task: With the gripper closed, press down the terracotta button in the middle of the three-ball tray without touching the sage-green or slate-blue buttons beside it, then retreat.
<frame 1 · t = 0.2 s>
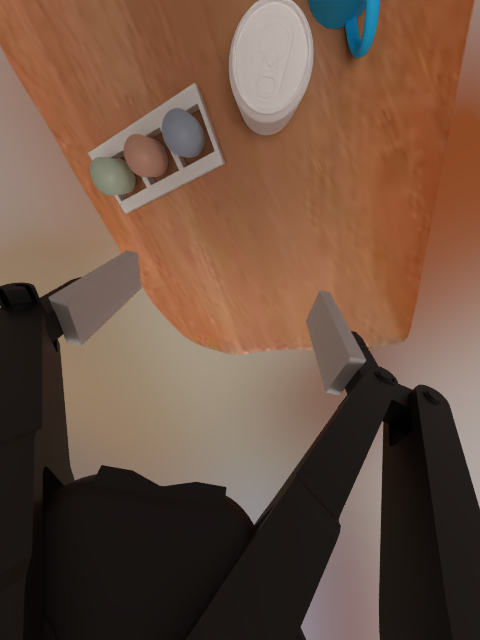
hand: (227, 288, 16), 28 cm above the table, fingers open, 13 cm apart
three-ball tray: (161, 158, 34), on the table
button terracotta: (147, 157, 30), point 5 cm above the table, slide at 0.0 cm
button slate: (184, 135, 28), point 5 cm above the table, slide at 0.0 cm
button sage: (114, 176, 32), point 5 cm above the table, slide at 0.0 cm
beverage can: (268, 97, 29), on the table
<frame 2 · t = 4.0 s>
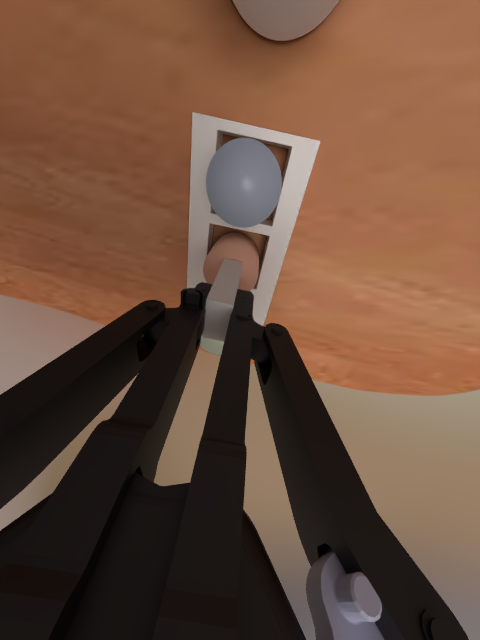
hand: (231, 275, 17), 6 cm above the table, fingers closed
three-ball tray: (237, 250, 22), on the table
button terracotta: (233, 264, 19), point 4 cm above the table, slide at -1.2 cm, touching gripper
button slate: (245, 185, 14), point 5 cm above the table, slide at 0.0 cm
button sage: (222, 326, 22), point 5 cm above the table, slide at 0.0 cm
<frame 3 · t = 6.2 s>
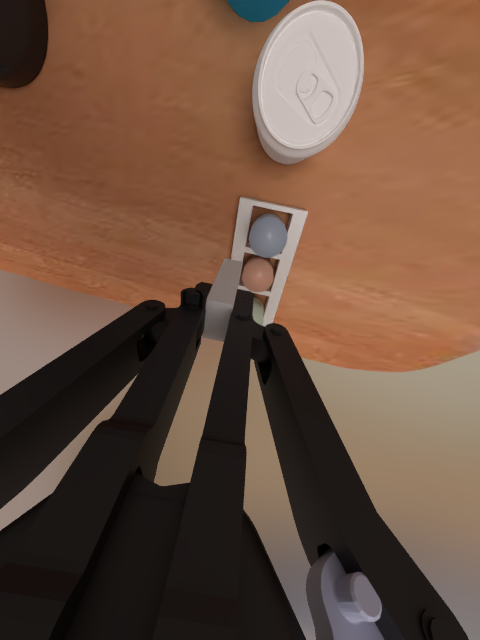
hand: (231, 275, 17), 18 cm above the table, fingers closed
three-ball tray: (258, 267, 35), on the table
button terracotta: (258, 273, 33), point 3 cm above the table, slide at -2.5 cm
button slate: (267, 235, 27), point 5 cm above the table, slide at 0.0 cm
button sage: (249, 314, 34), point 5 cm above the table, slide at 0.0 cm
beverage can: (291, 122, 25), on the table
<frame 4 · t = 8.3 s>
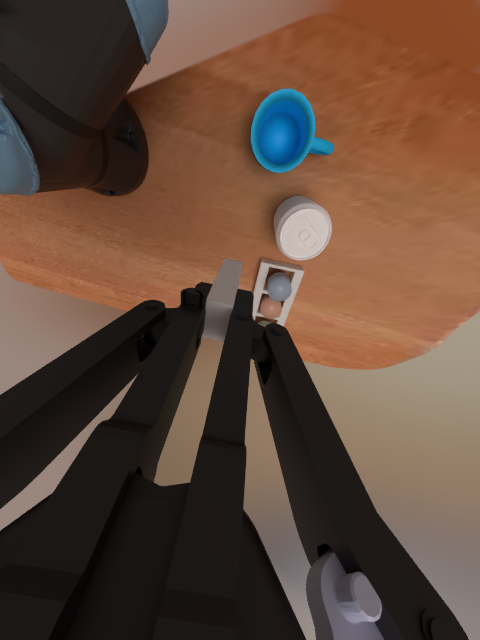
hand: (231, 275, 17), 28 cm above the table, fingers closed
three-ball tray: (270, 300, 51), on the table
mug: (290, 143, 34), on the table
button terracotta: (270, 305, 49), point 3 cm above the table, slide at -2.5 cm
button slate: (279, 286, 43), point 5 cm above the table, slide at 0.0 cm
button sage: (264, 333, 50), point 5 cm above the table, slide at 0.0 cm
beverage can: (294, 219, 40), on the table
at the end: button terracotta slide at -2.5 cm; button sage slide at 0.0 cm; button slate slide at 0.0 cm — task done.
